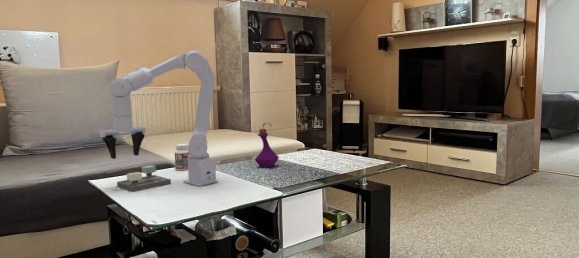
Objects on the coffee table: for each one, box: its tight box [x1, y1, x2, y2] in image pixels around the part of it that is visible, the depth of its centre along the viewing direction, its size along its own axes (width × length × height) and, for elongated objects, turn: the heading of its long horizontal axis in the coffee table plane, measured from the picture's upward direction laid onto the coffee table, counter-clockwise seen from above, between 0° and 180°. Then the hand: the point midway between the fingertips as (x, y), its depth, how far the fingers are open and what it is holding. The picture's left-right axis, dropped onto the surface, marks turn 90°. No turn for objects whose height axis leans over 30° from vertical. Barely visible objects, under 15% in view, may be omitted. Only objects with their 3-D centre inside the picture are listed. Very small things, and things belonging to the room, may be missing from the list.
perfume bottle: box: [254, 121, 280, 169], centre depth 167 cm, size 8×8×18 cm
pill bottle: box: [174, 143, 190, 172], centre depth 165 cm, size 6×6×10 cm
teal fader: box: [141, 165, 157, 177], centre depth 146 cm, size 3×4×3 cm
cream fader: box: [126, 171, 143, 184], centre depth 136 cm, size 3×4×3 cm
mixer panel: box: [116, 174, 172, 192], centre depth 141 cm, size 11×14×2 cm
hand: (125, 156), depth 138 cm, fingers open, 7 cm apart
